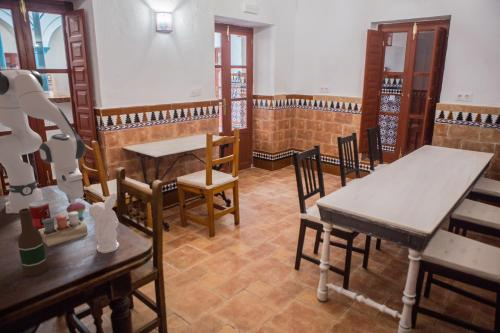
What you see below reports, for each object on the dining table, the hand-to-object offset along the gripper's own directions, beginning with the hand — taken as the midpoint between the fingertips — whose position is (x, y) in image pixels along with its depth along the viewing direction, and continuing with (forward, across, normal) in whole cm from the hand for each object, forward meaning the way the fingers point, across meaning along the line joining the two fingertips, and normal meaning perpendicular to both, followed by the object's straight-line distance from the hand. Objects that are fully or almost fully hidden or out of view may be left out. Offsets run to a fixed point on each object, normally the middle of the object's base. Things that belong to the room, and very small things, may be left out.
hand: (72, 203), depth 156 cm
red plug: (+10, -1, -5) cm, 12 cm away
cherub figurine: (+14, +22, +4) cm, 26 cm away
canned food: (+14, -20, -8) cm, 25 cm away
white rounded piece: (+10, 0, 0) cm, 10 cm away
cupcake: (+14, -18, +7) cm, 23 cm away
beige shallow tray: (+14, -1, -5) cm, 15 cm away
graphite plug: (+10, -1, -10) cm, 15 cm away
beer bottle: (+14, +21, -22) cm, 34 cm away
